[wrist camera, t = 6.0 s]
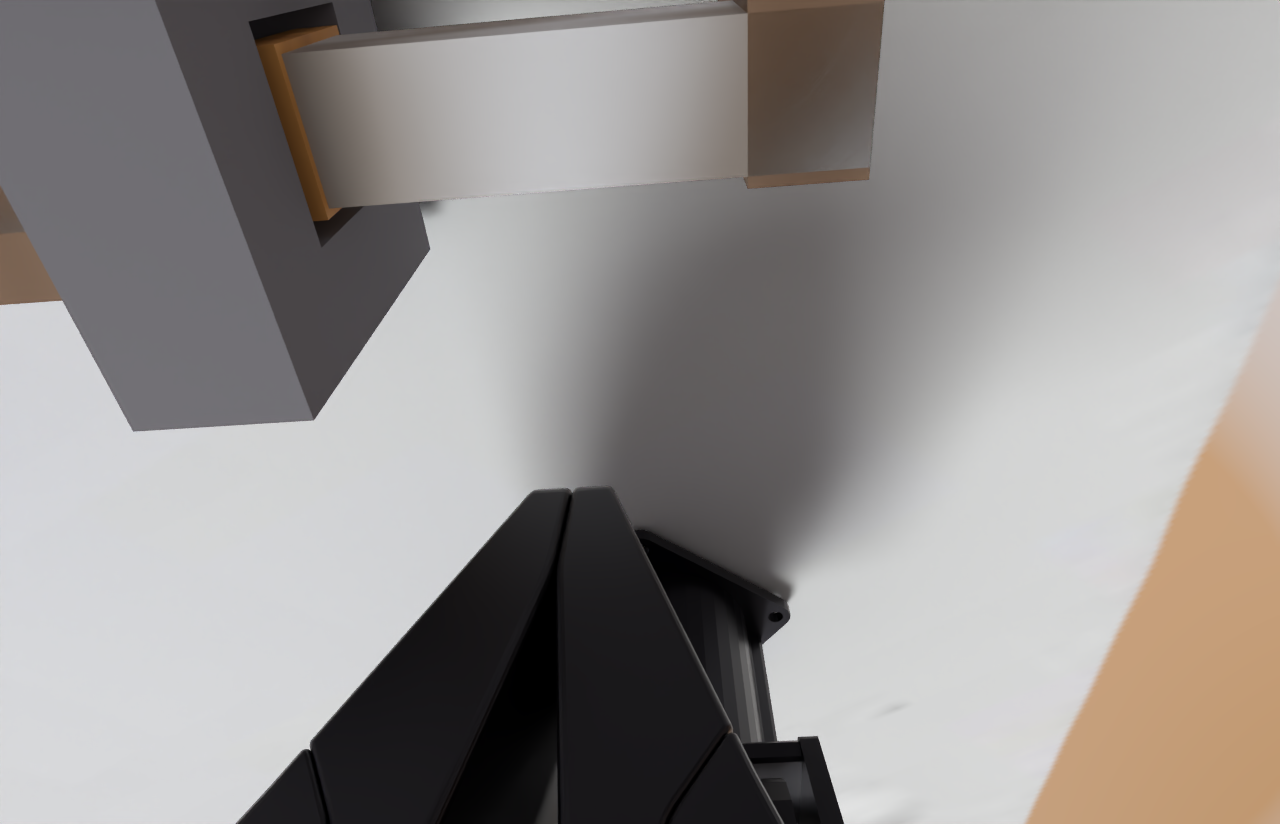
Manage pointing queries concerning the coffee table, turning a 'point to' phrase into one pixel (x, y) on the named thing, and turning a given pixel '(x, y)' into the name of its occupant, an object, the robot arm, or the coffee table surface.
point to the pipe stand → (561, 107)
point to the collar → (189, 207)
